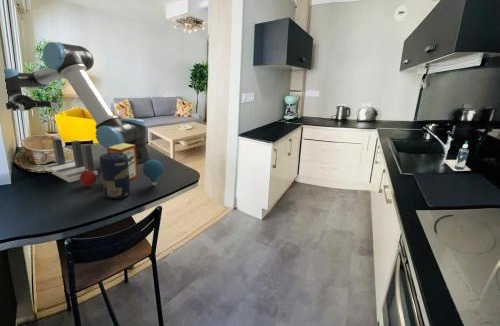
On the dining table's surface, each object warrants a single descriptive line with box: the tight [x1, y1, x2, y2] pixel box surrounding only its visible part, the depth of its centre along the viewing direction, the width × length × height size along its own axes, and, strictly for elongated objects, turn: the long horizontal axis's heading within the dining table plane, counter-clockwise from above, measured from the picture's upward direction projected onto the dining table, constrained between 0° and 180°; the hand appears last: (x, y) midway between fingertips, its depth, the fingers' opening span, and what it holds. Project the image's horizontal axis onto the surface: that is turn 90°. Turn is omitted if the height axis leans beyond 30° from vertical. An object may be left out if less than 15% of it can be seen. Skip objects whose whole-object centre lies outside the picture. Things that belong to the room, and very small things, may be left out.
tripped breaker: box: [51, 137, 66, 164], centre depth 119 cm, size 3×2×12 cm
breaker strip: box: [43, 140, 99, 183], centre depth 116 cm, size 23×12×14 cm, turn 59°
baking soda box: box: [106, 143, 139, 181], centre depth 113 cm, size 10×6×16 cm
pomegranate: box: [79, 169, 97, 188], centre depth 104 cm, size 6×6×8 cm
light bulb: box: [142, 158, 164, 186], centre depth 109 cm, size 8×8×12 cm
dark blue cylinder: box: [99, 152, 131, 200], centre depth 97 cm, size 10×10×18 cm
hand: (41, 107), depth 117 cm, fingers open, 13 cm apart
